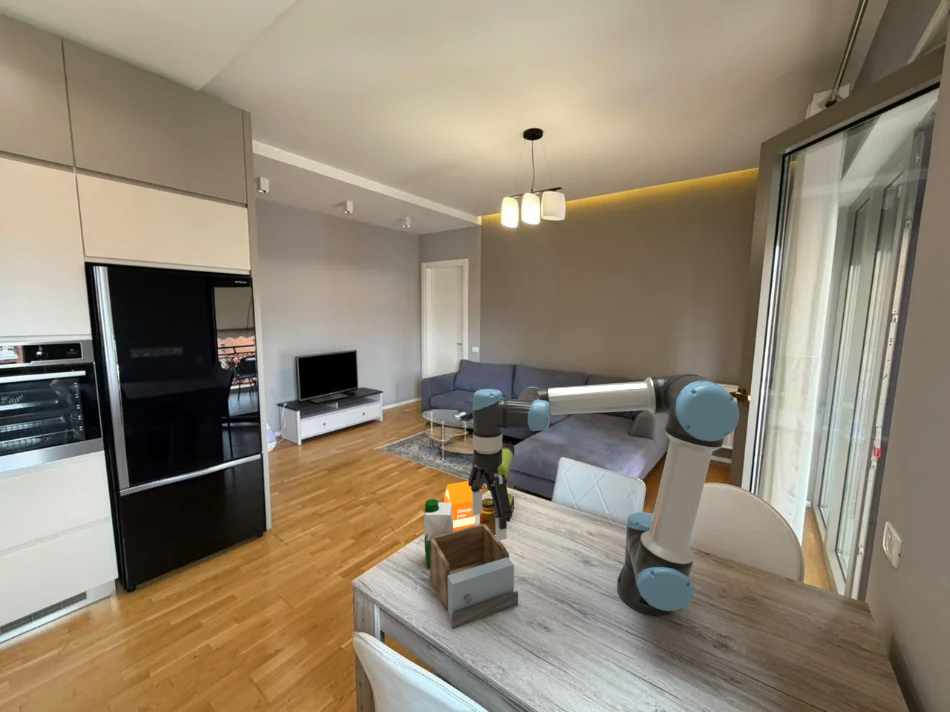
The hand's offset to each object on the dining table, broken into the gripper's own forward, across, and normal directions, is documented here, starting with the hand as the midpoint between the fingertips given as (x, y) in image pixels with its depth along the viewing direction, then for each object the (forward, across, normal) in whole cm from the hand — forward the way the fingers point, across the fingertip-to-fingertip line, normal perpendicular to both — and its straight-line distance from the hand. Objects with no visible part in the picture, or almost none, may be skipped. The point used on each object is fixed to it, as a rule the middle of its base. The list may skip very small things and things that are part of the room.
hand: (488, 525), depth 103 cm
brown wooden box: (+23, +6, +2) cm, 24 cm away
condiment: (+23, +30, -16) cm, 41 cm away
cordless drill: (+23, +42, -29) cm, 56 cm away
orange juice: (+23, +32, -5) cm, 40 cm away
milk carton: (+23, +23, +6) cm, 33 cm away
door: (+23, 0, +2) cm, 23 cm away
